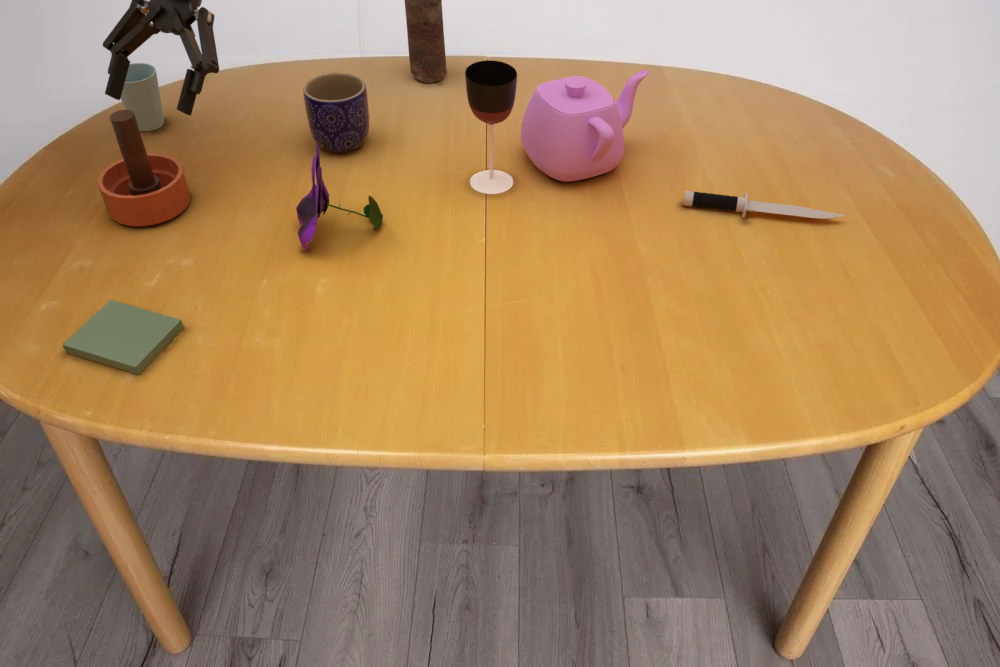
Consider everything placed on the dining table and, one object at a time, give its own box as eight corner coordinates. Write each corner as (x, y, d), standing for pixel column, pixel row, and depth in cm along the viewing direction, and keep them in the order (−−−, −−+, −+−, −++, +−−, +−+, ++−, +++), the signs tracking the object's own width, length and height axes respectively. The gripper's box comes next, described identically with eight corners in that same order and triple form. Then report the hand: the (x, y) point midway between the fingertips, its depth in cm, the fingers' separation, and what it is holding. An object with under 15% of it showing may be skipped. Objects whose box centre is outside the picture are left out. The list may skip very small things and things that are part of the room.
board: (65, 352, 119) (61, 344, 118) (113, 307, 126) (110, 299, 125) (138, 375, 116) (135, 367, 115) (184, 327, 123) (181, 319, 122)
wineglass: (501, 163, 154) (502, 56, 140) (523, 189, 148) (526, 79, 135) (460, 174, 152) (456, 66, 138) (481, 200, 146) (479, 90, 132)
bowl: (92, 219, 142) (80, 187, 138) (143, 177, 151) (133, 147, 146) (159, 236, 138) (148, 204, 134) (207, 193, 147) (198, 162, 143)
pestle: (128, 207, 143) (98, 119, 132) (147, 192, 146) (119, 105, 135) (153, 213, 142) (124, 125, 131) (171, 198, 145) (144, 110, 134)
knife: (684, 200, 142) (686, 183, 145) (682, 212, 144) (683, 195, 147) (849, 219, 138) (847, 201, 141) (845, 232, 140) (843, 214, 143)
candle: (402, 76, 178) (394, -23, 165) (427, 63, 182) (421, -34, 169) (429, 87, 175) (423, -13, 161) (454, 74, 179) (450, -24, 165)
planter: (304, 157, 156) (294, 99, 148) (320, 126, 164) (312, 70, 156) (364, 161, 155) (357, 103, 147) (378, 129, 163) (372, 73, 155)
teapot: (561, 208, 144) (567, 126, 134) (507, 147, 158) (508, 69, 148) (678, 176, 151) (691, 96, 141) (616, 120, 165) (624, 44, 155)
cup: (165, 134, 161) (150, 81, 154) (123, 135, 161) (105, 83, 154) (174, 113, 167) (159, 62, 160) (133, 115, 166) (116, 63, 159)
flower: (362, 228, 148) (284, 205, 142) (397, 156, 141) (317, 128, 134) (370, 282, 138) (287, 260, 132) (409, 207, 130) (322, 180, 124)
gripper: (262, -3, 138) (228, 126, 138) (132, -26, 145) (99, 98, 145) (236, -26, 131) (200, 111, 131) (101, -48, 138) (66, 82, 138)
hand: (147, 104), depth 138 cm, fingers open, 13 cm apart
